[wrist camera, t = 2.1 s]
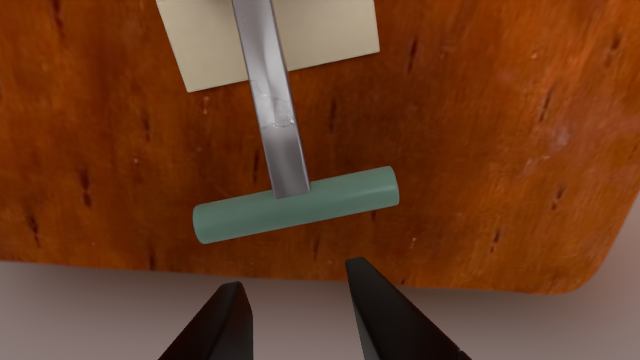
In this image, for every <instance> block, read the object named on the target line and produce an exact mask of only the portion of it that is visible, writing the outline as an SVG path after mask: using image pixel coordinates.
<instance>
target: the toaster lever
mask: <svg viewBox="0 0 640 360" xmlns="http://www.w3.org/2000/svg"><path fill="white" fill-rule="evenodd" d="M231 1H232V6H233V10H234V15H235V20H236V24H237V29H238V34H239V38H240V43H241V47H242V52H243V57H244V61H245V66H246V70H247V75H248V80H249V84H250V89H251V94H252V98H253V103H254V107H255V112H256V117H257V121H258V126H259V131H260V135H261V140H262V144H263V149H264V154H265V158H266V163H267V168H268V172H269V177H270V181H271V186H272V190H268V191H263V192H258V193H253V194H248V195H243V196H238V197H234V198H229V199H224V200H219V201H214V202H209V203H204V204H199V205H197V206H195V208H194V210H193V226H194V230H195V233H196V236H197V238H198V240H199V241H200V242H201V243H203V244H207V243H212V242H217V241H222V240H227V239H232V238H237V237H242V236H247V235H252V234H257V233H262V232H266V231H271V230H276V229H281V228H286V227H291V226H296V225H301V224H306V223H311V222H316V221H321V220H326V219H331V218H336V217H341V216H346V215H351V214H355V213H360V212H365V211H370V210H375V209H380V208H385V207H390V206H395V205H397V204H399V191H398V185H397V181H396V177H395V174H394V171H393V169H392V168H391V166H385V167H380V168H375V169H370V170H365V171H360V172H355V173H351V174H346V175H341V176H336V177H331V178H326V179H321V180H316V181H312V182H311V179H310V175H309V170H308V165H307V160H306V155H305V151H304V146H303V141H302V136H301V132H300V127H299V122H298V117H297V112H296V108H295V103H294V98H293V93H292V89H291V84H290V79H289V74H288V69H287V65H286V60H285V55H284V50H283V45H282V41H281V36H280V31H279V26H278V22H277V17H276V12H275V7H274V2H273V0H231Z"/></svg>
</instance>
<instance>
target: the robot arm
mask: <svg viewBox="0 0 640 360" xmlns="http://www.w3.org/2000/svg"><path fill="white" fill-rule="evenodd" d="M345 266H346V271H347V276H348V282H349V287H350V292H351V297H352V302H353V306H354V311H355V316H356V321H357V325H358V330H359V334H360V340H361V345H362V349H363V353H364V358H365V360H472V359H471V358H470V357H469V356H468V355H466V353H464V352H463V351H460V348H459V347H458V346H457V345H456V344H455V343H454V342H452V341H451V339H449V338H448V337H447V336H446V335H445V334H444V333H443V332H442V331H441V330H440V329H439V328H438V327H437V326H436V325H435V324H434V323H433V322H432V321H430V320H429V319H428V318H427V317H426V316H425V315H424V314H423V313H422V312H421V311H420V310H419V309H418V308H416V306H414V304H412V302H410V301H409V300H408V299H407V298H406V297H405V296H404V295H403V294H402V293H401V292H400V291H399V290H398V289H397V288H396V287H395V286H394V285H393V284H391V283H390V282H389V281H388V280H387V279H386V278H385V277H384V276H383V275H382V274H381V273H380V272H379V271H378V270H377V269H376V268H375V267H374V266H373V265H371V264H370V263H369V262H368V261H367V260H366V259H365V258H364V257H357V258H352V259H348V260H346V261H345ZM158 360H253V315H252V310H251V307H250V304H249V301H248V298H247V296H246V293H245V290H244V287H243V285H242V283H241V282H239V281H237V282H231V283H226V284H223V285H221V286H220V287H219V288H218V290H217V291H216V292H215V293H214V294H213V296H212V297H211V298H210V299H209V300H208V301H207V303H206V304H205V305H204V306H203V307H202V308H201V310H200V311H199V312H198V313H197V314H196V316H195V317H194V318H193V319H192V320H191V321H190V322H189V324H188V325H187V326H186V327H185V328H184V330H183V331H182V332H181V333H180V334H179V335H178V337H177V338H176V339H175V340H174V341H173V342H172V344H171V345H170V346H169V347H168V348H167V350H166V351H165V352H164V353H163V354H162V355H161V357H160V358H159V359H158Z"/></svg>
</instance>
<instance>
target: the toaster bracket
mask: <svg viewBox="0 0 640 360" xmlns="http://www.w3.org/2000/svg"><path fill="white" fill-rule="evenodd" d="M273 2H274V7H275V12H276V17H277V22H278V26H279V31H280V36H281V41H282V45H283V50H284V55H285V60H286V65H287V69H288V71H292V70H297V69H302V68H306V67H311V66H316V65H320V64H325V63H330V62H334V61H339V60H344V59H348V58H353V57H358V56H363V55H367V54H372V53H377V52H379V51H380V47H379V39H378V31H377V23H376V15H375V7H374V0H273ZM156 3H157V6H158V9H159V12H160V15H161V18H162V20H163V23H164V26H165V29H166V32H167V35H168V38H169V41H170V44H171V46H172V49H173V52H174V55H175V58H176V61H177V64H178V67H179V70H180V72H181V75H182V78H183V81H184V84H185V87H186V90H187V92H194V91H199V90H203V89H208V88H213V87H217V86H222V85H227V84H231V83H236V82H241V81H245V80H248V75H247V70H246V66H245V61H244V57H243V52H242V47H241V43H240V38H239V34H238V29H237V24H236V20H235V15H234V10H233V6H232V1H231V0H156Z"/></svg>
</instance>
